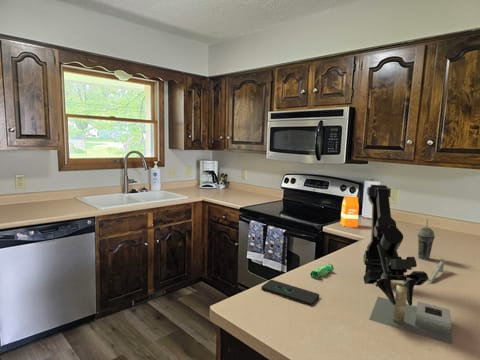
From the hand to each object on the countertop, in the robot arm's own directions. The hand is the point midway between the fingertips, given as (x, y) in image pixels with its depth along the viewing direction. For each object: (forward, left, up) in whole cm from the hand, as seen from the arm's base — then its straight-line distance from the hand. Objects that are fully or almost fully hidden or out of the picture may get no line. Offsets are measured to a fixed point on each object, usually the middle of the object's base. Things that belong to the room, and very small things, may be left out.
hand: (402, 304), depth 97 cm
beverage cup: (+4, +71, -7) cm, 72 cm away
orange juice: (-41, +111, -7) cm, 119 cm away
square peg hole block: (+8, +6, -6) cm, 12 cm away
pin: (-1, +1, -6) cm, 7 cm away
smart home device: (-37, -1, -7) cm, 37 cm away
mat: (+2, +6, -7) cm, 9 cm away
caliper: (+9, +50, -7) cm, 51 cm away
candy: (-32, +23, -7) cm, 40 cm away
